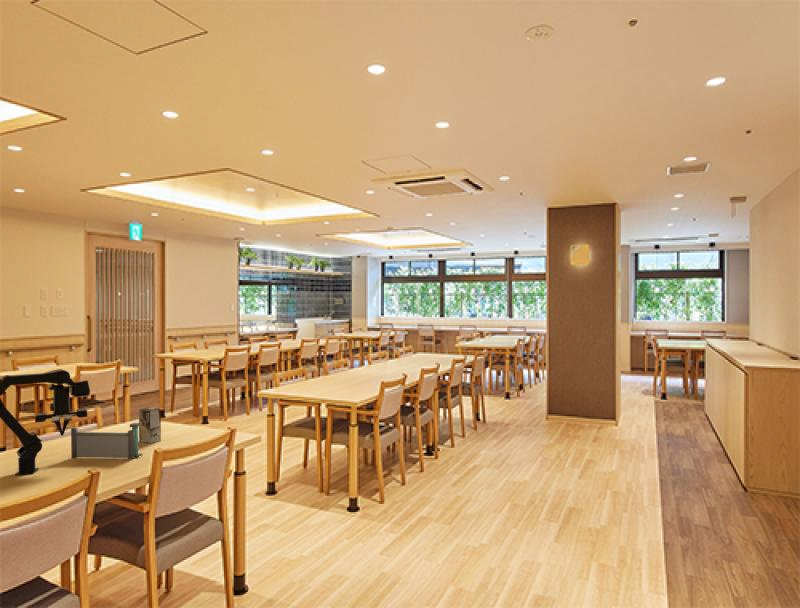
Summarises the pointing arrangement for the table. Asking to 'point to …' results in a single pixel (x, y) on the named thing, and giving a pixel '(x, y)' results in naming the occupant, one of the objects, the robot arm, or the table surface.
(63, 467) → the table surface
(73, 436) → the gate
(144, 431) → the coffee box
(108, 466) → the table surface
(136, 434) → the post
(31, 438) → the robot arm
